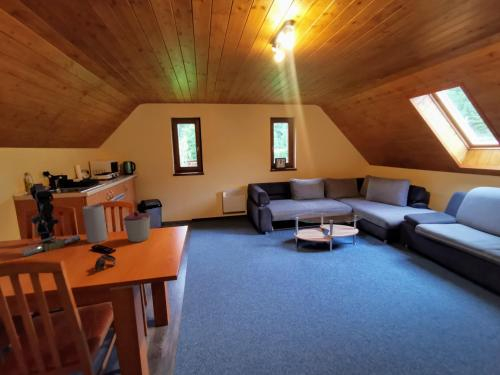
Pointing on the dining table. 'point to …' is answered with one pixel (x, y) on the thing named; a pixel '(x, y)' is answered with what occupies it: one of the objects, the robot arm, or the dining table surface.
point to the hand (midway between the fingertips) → (49, 232)
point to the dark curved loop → (101, 261)
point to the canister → (137, 226)
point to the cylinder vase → (95, 223)
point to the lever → (41, 240)
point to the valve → (50, 245)
